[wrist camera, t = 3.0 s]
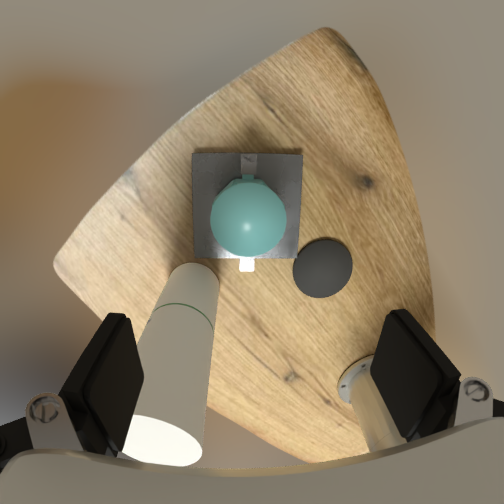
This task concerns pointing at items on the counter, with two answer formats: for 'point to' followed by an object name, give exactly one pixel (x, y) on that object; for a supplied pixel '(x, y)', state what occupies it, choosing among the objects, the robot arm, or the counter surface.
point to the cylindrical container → (175, 370)
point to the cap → (248, 217)
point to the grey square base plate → (232, 167)
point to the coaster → (322, 268)
